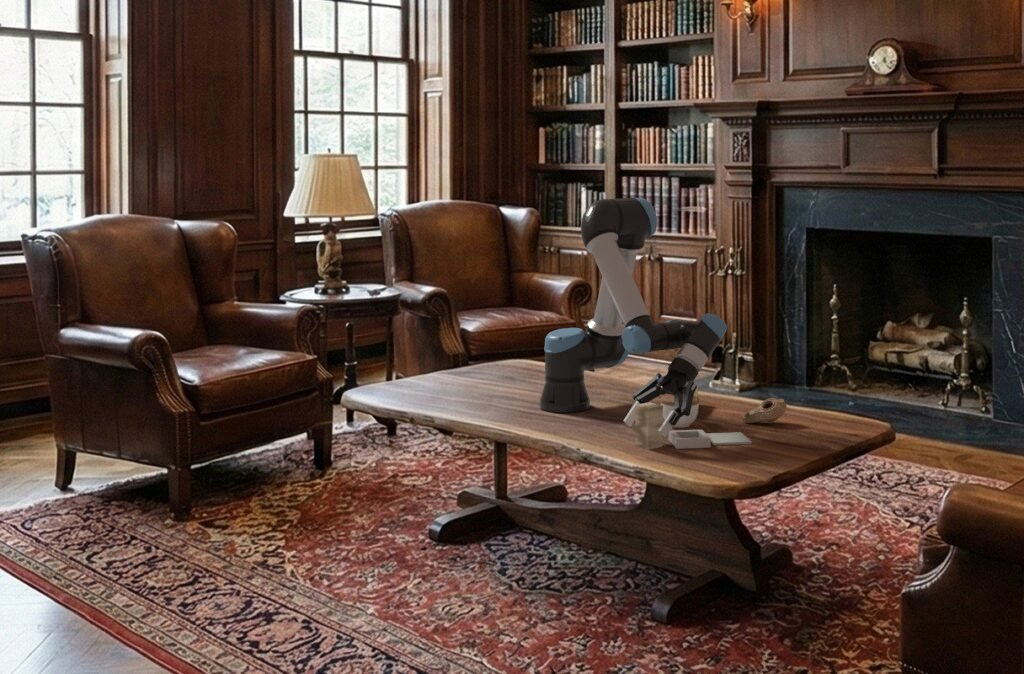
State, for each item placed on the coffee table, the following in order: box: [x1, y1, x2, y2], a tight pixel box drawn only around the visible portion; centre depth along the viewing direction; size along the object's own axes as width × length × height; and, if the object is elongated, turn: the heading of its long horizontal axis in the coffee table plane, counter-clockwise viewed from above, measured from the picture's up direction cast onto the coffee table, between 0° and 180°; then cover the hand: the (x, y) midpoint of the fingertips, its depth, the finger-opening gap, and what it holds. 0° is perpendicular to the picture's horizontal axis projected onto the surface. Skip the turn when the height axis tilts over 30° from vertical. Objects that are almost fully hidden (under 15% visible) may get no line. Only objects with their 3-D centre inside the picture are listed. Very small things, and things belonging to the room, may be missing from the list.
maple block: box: [634, 401, 664, 451], centre depth 294 cm, size 5×5×11 cm
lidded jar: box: [660, 394, 700, 428], centre depth 316 cm, size 11×11×9 cm
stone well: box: [668, 429, 712, 450], centre depth 297 cm, size 9×9×2 cm
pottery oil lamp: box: [742, 397, 787, 424], centre depth 317 cm, size 9×12×7 cm
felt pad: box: [705, 431, 752, 446], centre depth 300 cm, size 10×10×1 cm
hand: (644, 428), depth 293 cm, fingers open, 13 cm apart
